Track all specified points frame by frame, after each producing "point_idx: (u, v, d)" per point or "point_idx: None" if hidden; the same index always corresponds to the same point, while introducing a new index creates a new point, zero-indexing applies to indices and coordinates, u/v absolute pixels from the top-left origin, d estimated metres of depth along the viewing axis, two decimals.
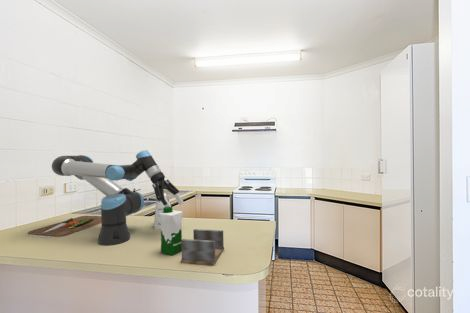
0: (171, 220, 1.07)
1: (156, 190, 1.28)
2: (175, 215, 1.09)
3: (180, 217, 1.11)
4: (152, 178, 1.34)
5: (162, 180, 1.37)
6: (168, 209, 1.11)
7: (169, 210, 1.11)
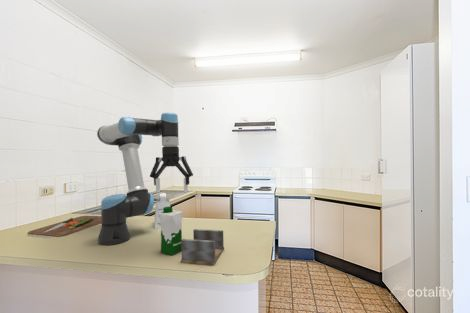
0: (171, 220, 1.07)
1: None
2: (175, 215, 1.09)
3: (180, 217, 1.11)
4: None
5: (171, 156, 1.12)
6: (168, 209, 1.11)
7: (169, 210, 1.11)
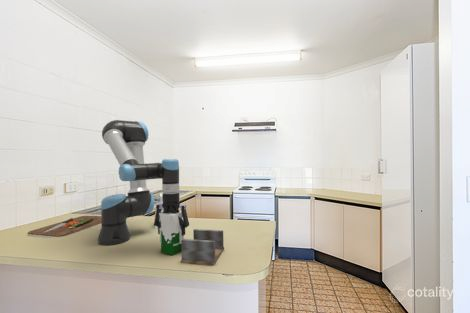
0: (171, 220, 1.07)
1: None
2: (175, 215, 1.09)
3: (180, 217, 1.11)
4: None
5: (171, 203, 1.10)
6: None
7: None
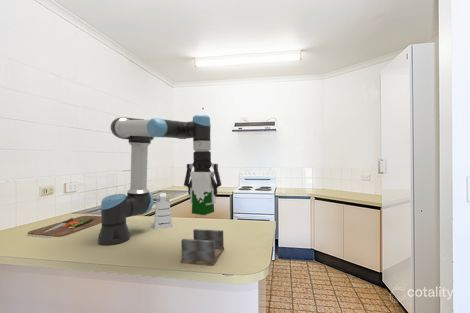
0: (203, 178, 1.02)
1: None
2: (207, 173, 1.03)
3: (212, 176, 1.05)
4: None
5: (203, 161, 1.05)
6: None
7: None
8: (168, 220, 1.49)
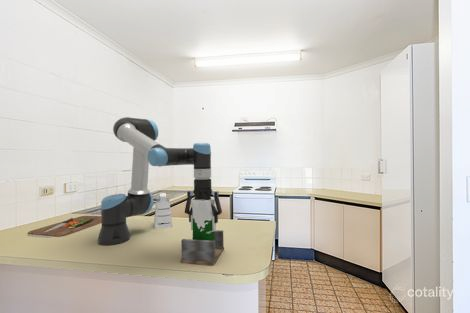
0: (204, 206, 1.02)
1: None
2: (208, 201, 1.03)
3: (212, 204, 1.05)
4: None
5: (204, 189, 1.05)
6: None
7: None
8: (168, 220, 1.49)
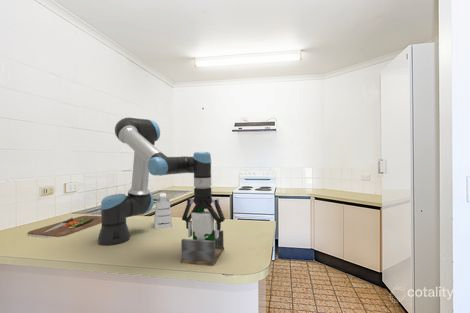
0: (204, 220, 1.02)
1: None
2: (208, 215, 1.03)
3: None
4: None
5: (204, 198, 1.05)
6: (200, 209, 1.06)
7: (201, 210, 1.06)
8: (168, 220, 1.49)
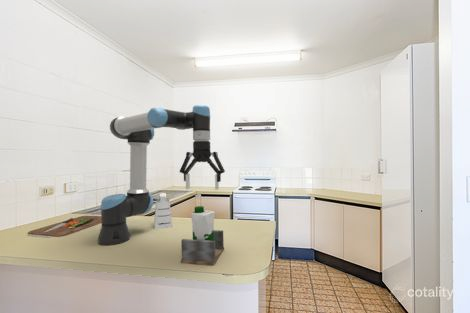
0: (204, 220, 1.02)
1: None
2: (208, 215, 1.03)
3: (212, 217, 1.06)
4: None
5: (202, 151, 1.06)
6: (200, 209, 1.06)
7: (201, 210, 1.06)
8: (168, 220, 1.49)
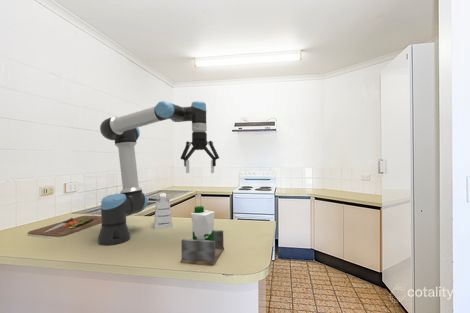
0: (204, 220, 1.02)
1: None
2: (208, 215, 1.03)
3: (212, 217, 1.06)
4: None
5: (200, 140, 1.25)
6: (200, 209, 1.06)
7: (201, 210, 1.06)
8: (168, 220, 1.49)
